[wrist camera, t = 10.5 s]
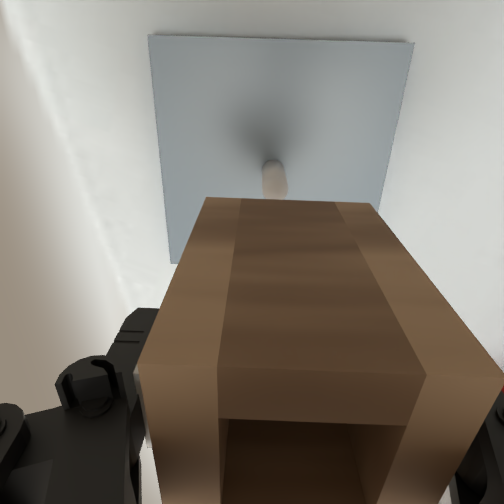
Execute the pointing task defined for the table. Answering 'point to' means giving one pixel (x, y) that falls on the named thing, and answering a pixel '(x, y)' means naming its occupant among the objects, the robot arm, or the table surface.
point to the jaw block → (308, 363)
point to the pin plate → (272, 120)
